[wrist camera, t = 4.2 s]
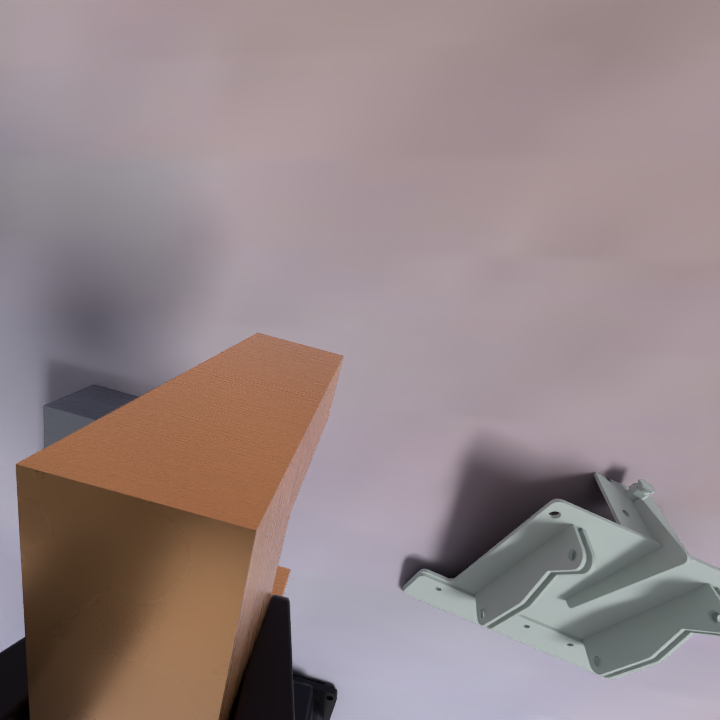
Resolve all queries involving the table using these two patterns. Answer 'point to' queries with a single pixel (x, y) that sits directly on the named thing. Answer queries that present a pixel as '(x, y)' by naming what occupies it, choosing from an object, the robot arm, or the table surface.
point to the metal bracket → (587, 585)
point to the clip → (167, 536)
